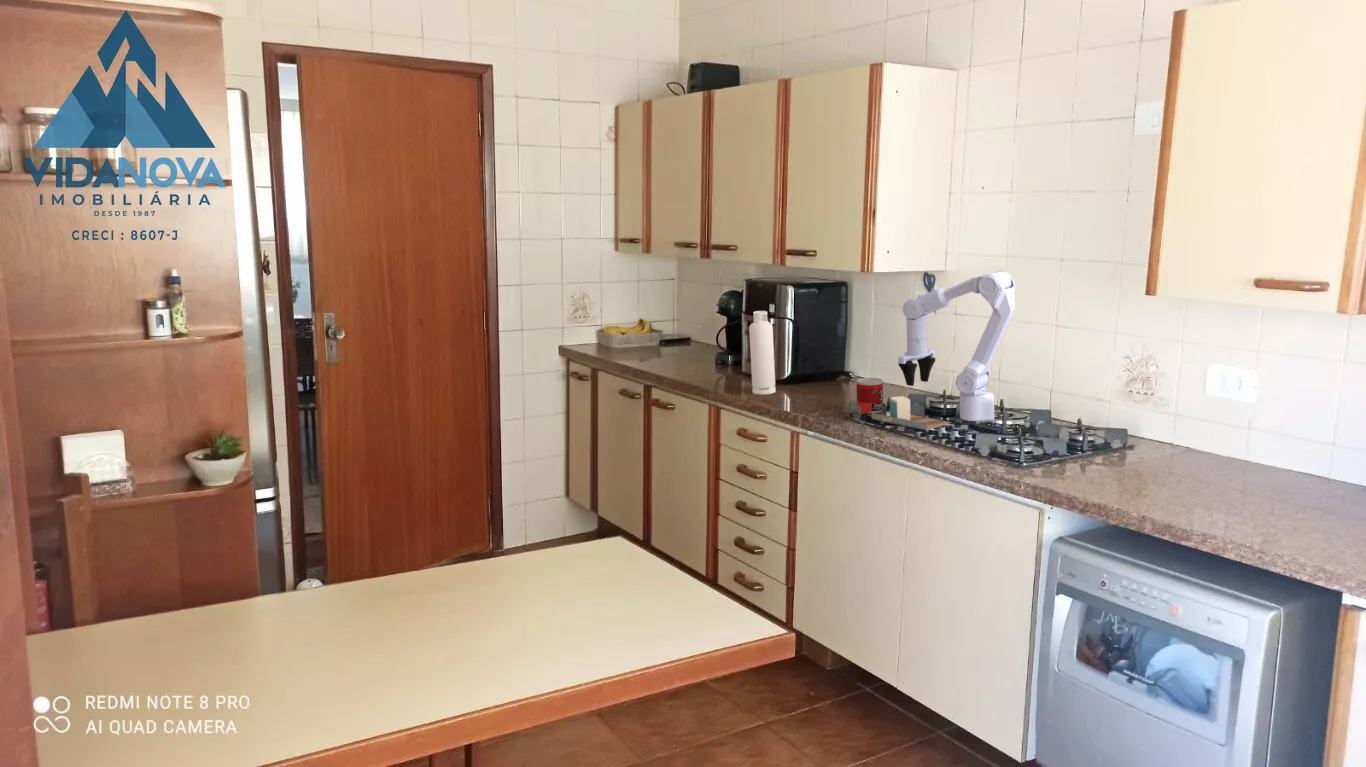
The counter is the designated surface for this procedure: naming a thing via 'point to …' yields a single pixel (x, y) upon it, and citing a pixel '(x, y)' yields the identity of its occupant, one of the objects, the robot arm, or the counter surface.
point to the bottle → (762, 354)
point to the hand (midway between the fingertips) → (917, 383)
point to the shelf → (911, 421)
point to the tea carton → (900, 407)
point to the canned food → (869, 395)
